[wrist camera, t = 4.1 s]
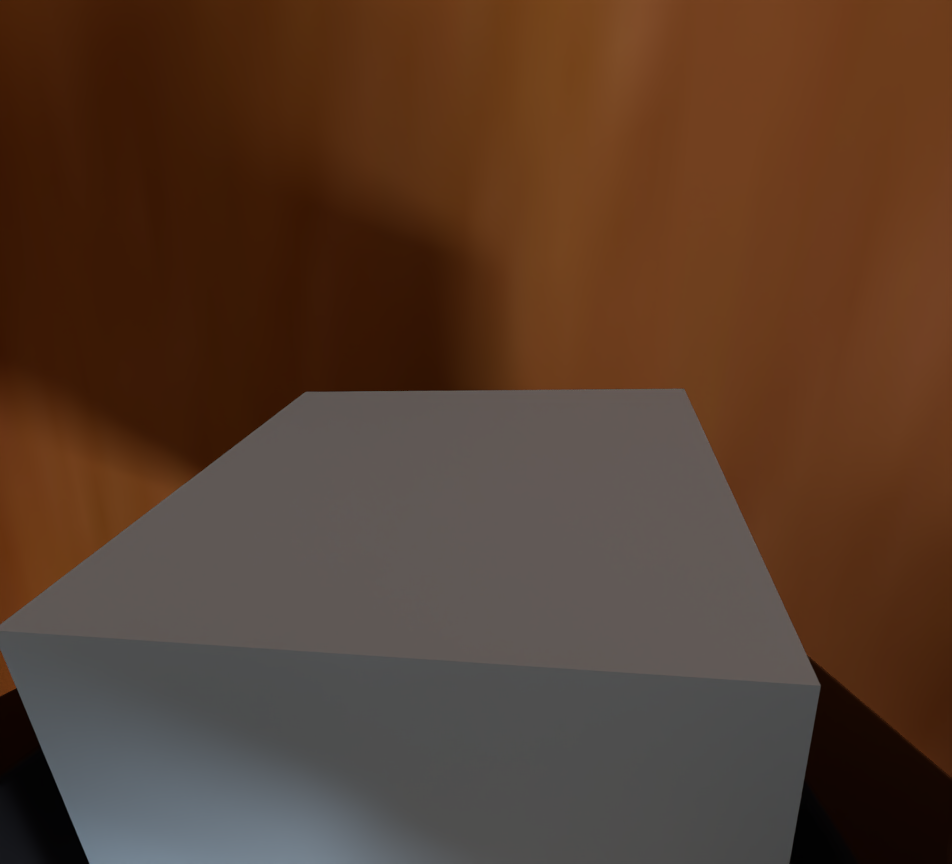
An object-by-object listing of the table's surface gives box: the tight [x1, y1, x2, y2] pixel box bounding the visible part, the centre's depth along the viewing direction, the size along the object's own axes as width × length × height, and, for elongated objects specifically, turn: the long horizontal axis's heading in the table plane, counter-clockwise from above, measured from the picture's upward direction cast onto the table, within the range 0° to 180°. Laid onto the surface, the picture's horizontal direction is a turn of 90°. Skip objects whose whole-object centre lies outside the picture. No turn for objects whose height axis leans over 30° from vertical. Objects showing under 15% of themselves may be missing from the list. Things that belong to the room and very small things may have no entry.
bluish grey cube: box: [0, 389, 821, 864], centre depth 7 cm, size 5×5×5 cm
